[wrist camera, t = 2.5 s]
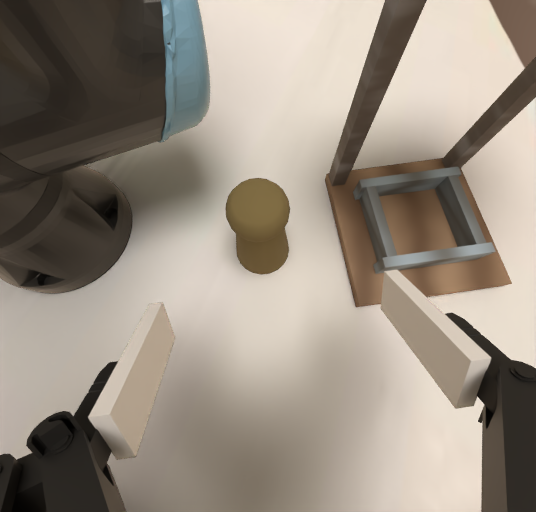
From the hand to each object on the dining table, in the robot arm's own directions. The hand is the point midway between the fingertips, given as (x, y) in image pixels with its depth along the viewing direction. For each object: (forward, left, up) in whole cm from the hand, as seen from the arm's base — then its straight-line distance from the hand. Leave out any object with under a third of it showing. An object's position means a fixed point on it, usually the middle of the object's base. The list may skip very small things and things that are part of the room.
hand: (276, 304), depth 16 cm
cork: (-6, +6, -13) cm, 15 cm away
